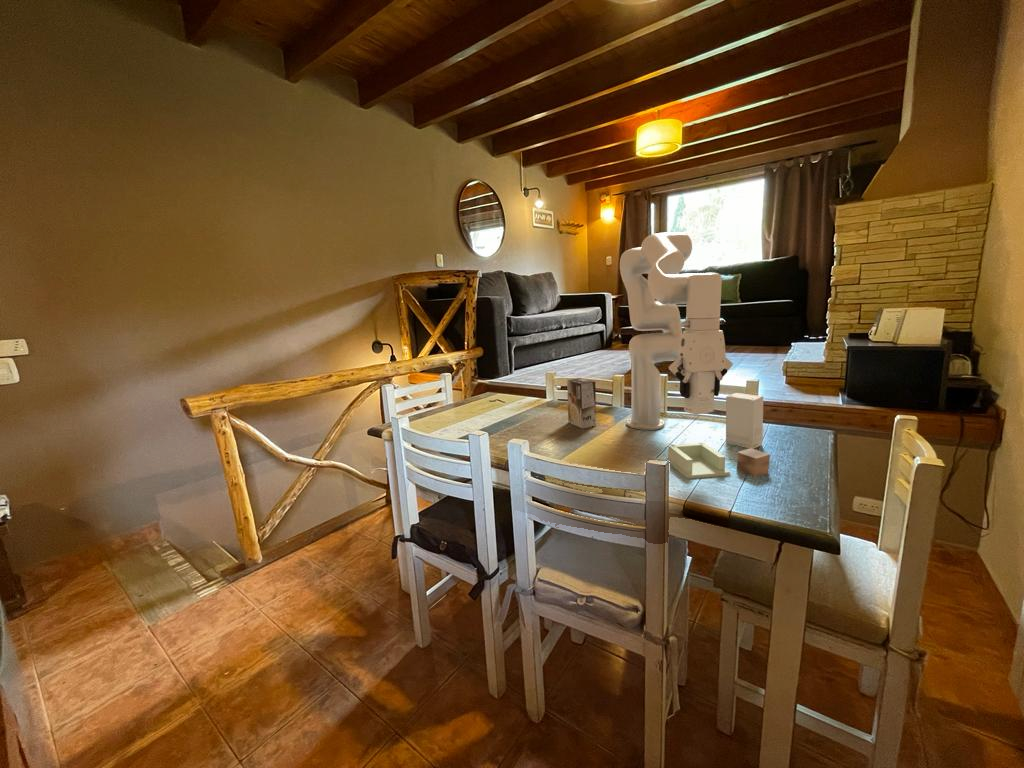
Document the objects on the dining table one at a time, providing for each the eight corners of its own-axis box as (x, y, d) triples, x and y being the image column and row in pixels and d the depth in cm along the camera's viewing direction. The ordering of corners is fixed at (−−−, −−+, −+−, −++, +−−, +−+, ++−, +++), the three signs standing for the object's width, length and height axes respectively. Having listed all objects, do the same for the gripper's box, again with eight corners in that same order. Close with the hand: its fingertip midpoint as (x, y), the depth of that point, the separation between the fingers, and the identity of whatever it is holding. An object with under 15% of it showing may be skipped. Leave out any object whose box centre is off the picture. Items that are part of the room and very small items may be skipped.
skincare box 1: (697, 415, 104) (699, 367, 102) (682, 411, 108) (684, 365, 106) (714, 411, 107) (717, 364, 104) (700, 407, 111) (702, 362, 108)
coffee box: (597, 425, 149) (596, 381, 145) (582, 429, 146) (581, 384, 142) (581, 419, 157) (580, 377, 153) (567, 422, 154) (566, 379, 150)
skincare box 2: (762, 445, 123) (766, 396, 120) (751, 450, 120) (755, 399, 116) (734, 438, 130) (737, 391, 127) (723, 442, 126) (725, 394, 123)
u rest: (666, 460, 116) (666, 445, 115) (704, 457, 117) (705, 442, 116) (687, 478, 104) (687, 462, 103) (729, 475, 105) (730, 458, 104)
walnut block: (736, 470, 108) (737, 452, 107) (749, 466, 110) (751, 448, 109) (754, 477, 103) (756, 458, 102) (768, 473, 105) (769, 454, 104)
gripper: (675, 328, 99) (672, 402, 102) (745, 324, 100) (741, 397, 104) (661, 326, 106) (659, 394, 110) (727, 322, 107) (723, 390, 111)
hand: (699, 395), depth 107 cm, fingers closed on skincare box 1, 6 cm apart
